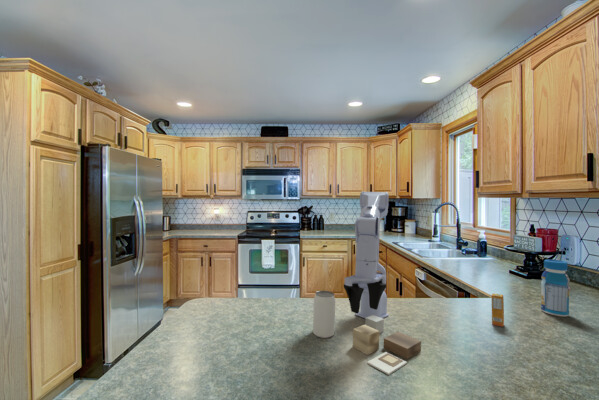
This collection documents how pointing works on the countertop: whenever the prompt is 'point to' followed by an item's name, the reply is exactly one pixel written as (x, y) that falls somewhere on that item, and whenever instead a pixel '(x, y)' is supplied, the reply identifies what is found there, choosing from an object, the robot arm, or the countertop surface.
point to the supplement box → (497, 310)
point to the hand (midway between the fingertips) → (364, 310)
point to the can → (324, 314)
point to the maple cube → (365, 339)
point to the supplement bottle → (555, 288)
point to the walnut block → (402, 345)
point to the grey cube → (375, 323)
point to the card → (387, 363)
